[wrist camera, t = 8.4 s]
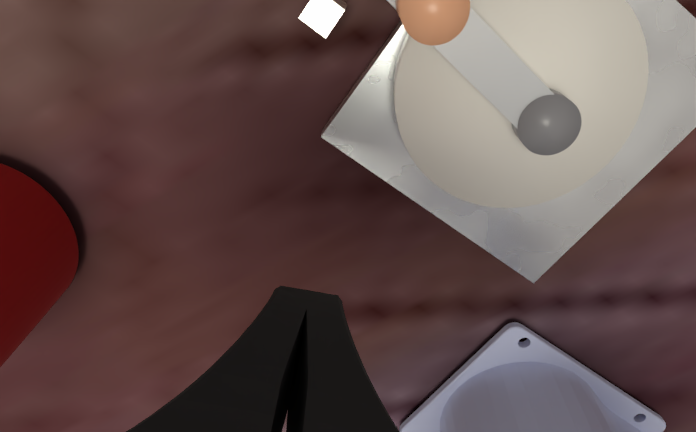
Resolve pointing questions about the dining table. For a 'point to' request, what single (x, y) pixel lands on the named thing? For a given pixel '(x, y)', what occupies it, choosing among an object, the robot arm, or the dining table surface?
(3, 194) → the beverage can
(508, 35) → the white lever switch
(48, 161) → the dining table surface
